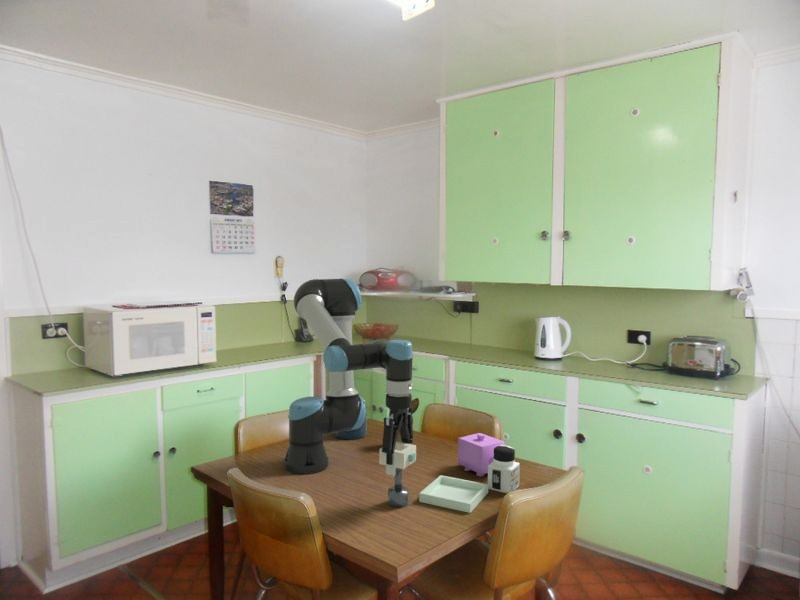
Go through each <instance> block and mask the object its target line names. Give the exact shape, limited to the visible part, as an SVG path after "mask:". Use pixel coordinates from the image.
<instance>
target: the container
mask: <svg viewBox="0 0 800 600" xmlns="http://www.w3.org/2000/svg"><path fill="white" fill-rule="evenodd" d="M515 458H516V450H515V449H514V447H512V446H509V445H505V444H504V445H501V446H497V447H495V448H494V461H493V462H492V463H491V464H489V465H488V473H487V484H488V490H491V491H496V492H499V493H504V494H507V492H509V491H512V490H514V491H515V490H517V489H518V487H519V486H520V473H521V472H520V468H521V467H520V465H521V464H520V463H521V462H517V461H515V460H516V459H515Z"/></svg>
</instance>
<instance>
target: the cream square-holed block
mask: <svg viewBox="0 0 800 600" xmlns="http://www.w3.org/2000/svg"><path fill="white" fill-rule="evenodd" d="M378 453H379V458H378V460H379V461H378V462H379V463H378V465H383V466H386V453H383V452H382V447H379V452H378ZM394 453H396V468H401V470H405V469H406V468H408V467H409V466H410V465H411V464H413V463H415V462H416V461H417V445H416V444H411V443H410V444H406V443H401V442H396V445H395V450H394Z"/></svg>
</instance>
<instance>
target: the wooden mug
mask: <svg viewBox="0 0 800 600" xmlns="http://www.w3.org/2000/svg"><path fill="white" fill-rule="evenodd" d="M419 405H420V399H419V398H418V397H416V398H414V399H412V405H411V407H410V408H412V415H413V414H415V413H416V412H417V411H418V408H419ZM413 424H414V418H413V416H412V426H413ZM395 427H397V426H395ZM396 442H401V443H403V442H402V440H401V436H400V431H398V435H397V440H396ZM409 444H411V443H409Z"/></svg>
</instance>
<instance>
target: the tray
mask: <svg viewBox="0 0 800 600" xmlns="http://www.w3.org/2000/svg"><path fill="white" fill-rule="evenodd" d="M488 494H489V489H488V483H484V482H483V483H482V482H478V481H472V480H466V479H462V478H458V477H452V476H446V475H442V474H441V475H440V474H439V476H438V477H437V478H435V479H434V480H433V481H432V482H431V483H429V484H428V485H427V486H426V487H425V488H423V489H422V490H421V491H420V492H419V493H418V495H419V497H418V498H419V500H418V501H419V503H422V504H423V503H424V504H428V505H433V506H436V507H437V506H438V507H442V508H447V509H451V510H455V511H460V512H465V513H469V514H470V513H472V511H473V510H474V509H475V508H476V507H477V506H478V505H479V504H480V503H481V502H482V500H483V499H484V498H485V497H486V496H487V495H488Z"/></svg>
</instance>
